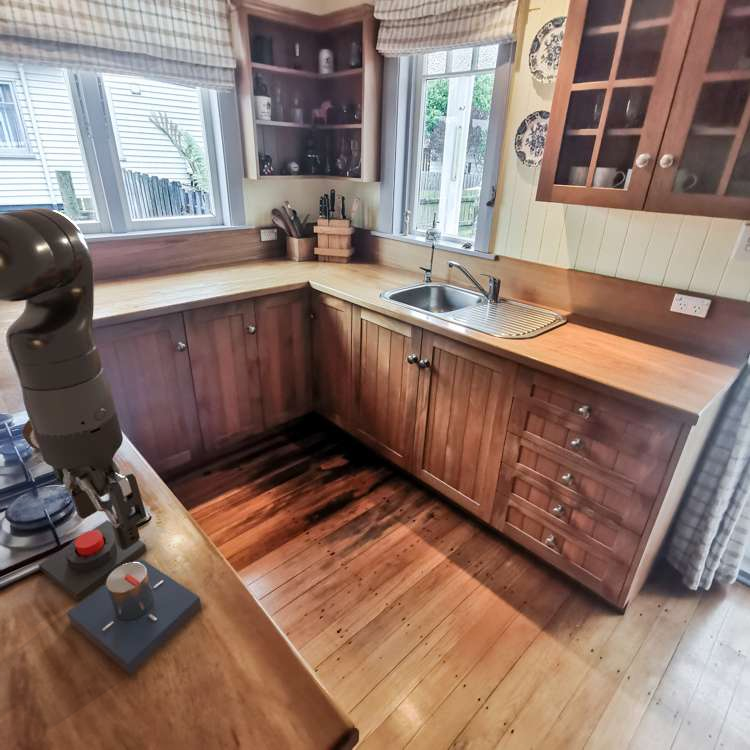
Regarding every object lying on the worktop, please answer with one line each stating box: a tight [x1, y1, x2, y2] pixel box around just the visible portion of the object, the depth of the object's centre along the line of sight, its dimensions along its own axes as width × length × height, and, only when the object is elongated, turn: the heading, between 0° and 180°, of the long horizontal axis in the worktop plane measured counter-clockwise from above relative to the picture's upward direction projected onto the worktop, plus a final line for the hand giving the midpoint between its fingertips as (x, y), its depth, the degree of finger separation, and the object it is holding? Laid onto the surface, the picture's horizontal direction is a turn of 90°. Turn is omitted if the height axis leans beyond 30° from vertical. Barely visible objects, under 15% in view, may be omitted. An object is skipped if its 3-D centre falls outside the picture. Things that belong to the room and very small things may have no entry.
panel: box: [66, 557, 202, 676], centre depth 64 cm, size 13×11×3 cm
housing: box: [38, 519, 148, 603], centre depth 72 cm, size 10×11×4 cm
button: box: [75, 529, 104, 556], centre depth 71 cm, size 4×4×2 cm
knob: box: [105, 561, 154, 620], centre depth 62 cm, size 5×5×6 cm
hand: (109, 528), depth 56 cm, fingers open, 8 cm apart
